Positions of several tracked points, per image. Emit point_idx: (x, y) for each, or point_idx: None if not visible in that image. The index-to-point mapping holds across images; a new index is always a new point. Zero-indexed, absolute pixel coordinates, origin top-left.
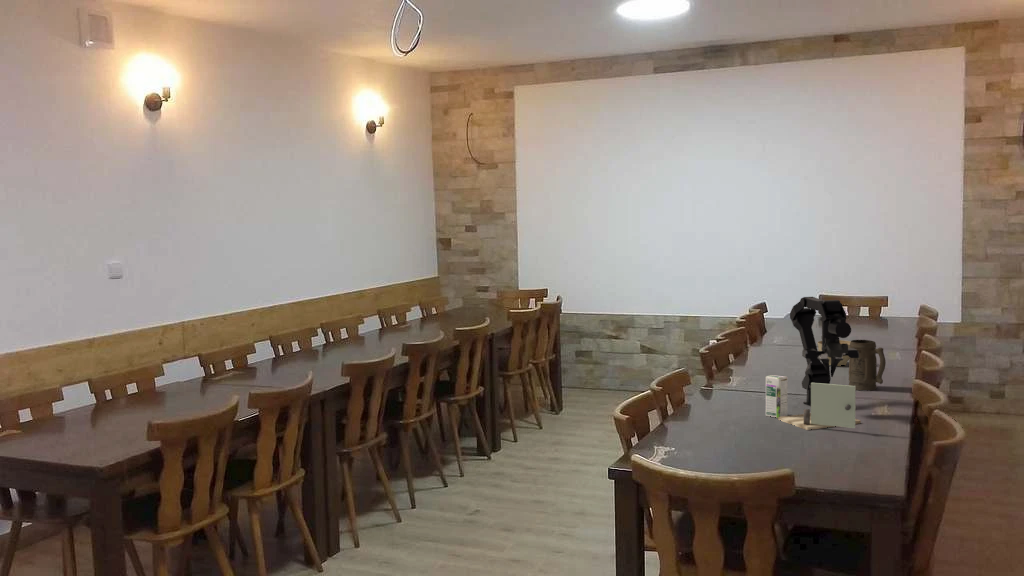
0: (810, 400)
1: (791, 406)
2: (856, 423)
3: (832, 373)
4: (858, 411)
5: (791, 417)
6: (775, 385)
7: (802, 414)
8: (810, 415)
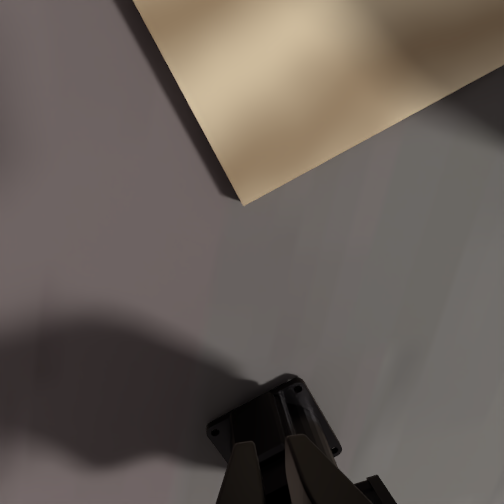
0: (319, 430)
1: (422, 374)
2: None
3: (250, 486)
4: (21, 283)
5: None
6: None
7: (468, 71)
8: (422, 34)
